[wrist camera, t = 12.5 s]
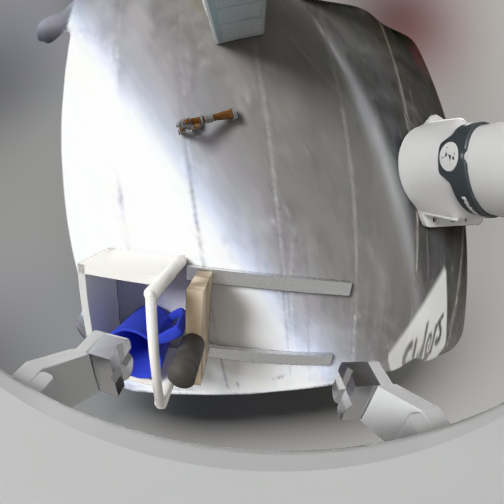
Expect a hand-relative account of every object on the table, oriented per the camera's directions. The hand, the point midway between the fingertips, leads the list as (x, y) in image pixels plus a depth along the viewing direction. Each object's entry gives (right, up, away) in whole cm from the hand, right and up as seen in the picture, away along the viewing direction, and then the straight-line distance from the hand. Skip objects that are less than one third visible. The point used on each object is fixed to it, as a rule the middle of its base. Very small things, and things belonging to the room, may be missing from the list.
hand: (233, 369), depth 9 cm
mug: (-13, -6, +31) cm, 35 cm away
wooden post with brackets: (-5, +22, +25) cm, 33 cm away
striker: (-7, -5, +30) cm, 31 cm away
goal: (-16, -4, +31) cm, 35 cm away
